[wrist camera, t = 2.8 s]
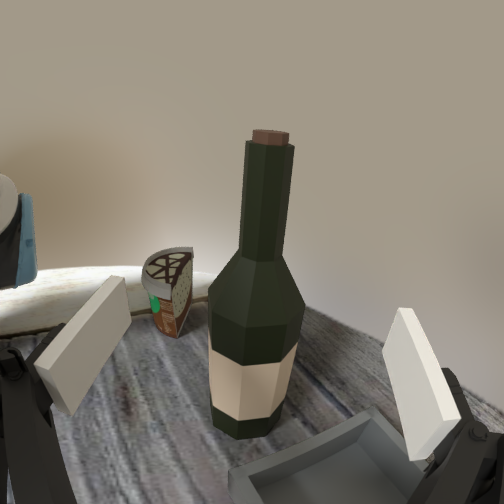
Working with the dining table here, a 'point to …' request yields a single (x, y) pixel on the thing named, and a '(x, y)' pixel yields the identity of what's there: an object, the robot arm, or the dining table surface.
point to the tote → (334, 468)
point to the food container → (169, 287)
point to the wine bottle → (255, 300)
